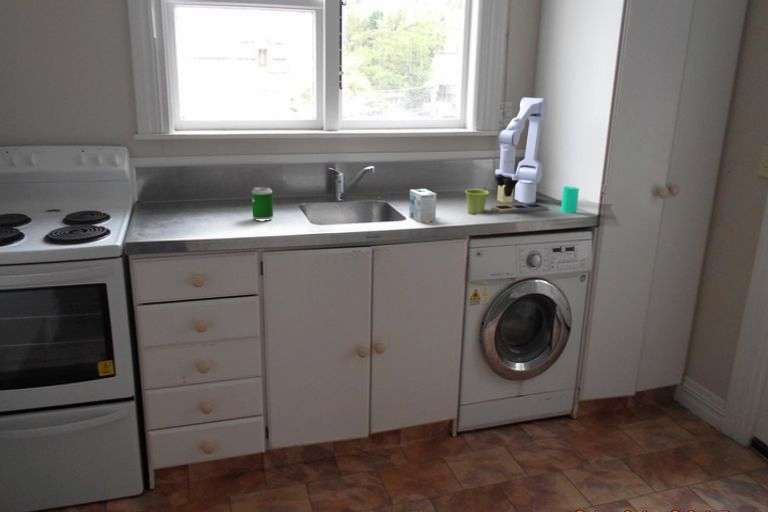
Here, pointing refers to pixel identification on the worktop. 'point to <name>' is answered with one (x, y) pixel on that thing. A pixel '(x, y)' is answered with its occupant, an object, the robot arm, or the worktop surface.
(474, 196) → the plant pot
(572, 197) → the candle
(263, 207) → the soda can
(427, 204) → the light bulb box
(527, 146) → the robot arm
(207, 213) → the worktop surface
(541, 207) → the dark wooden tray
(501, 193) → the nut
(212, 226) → the worktop surface
